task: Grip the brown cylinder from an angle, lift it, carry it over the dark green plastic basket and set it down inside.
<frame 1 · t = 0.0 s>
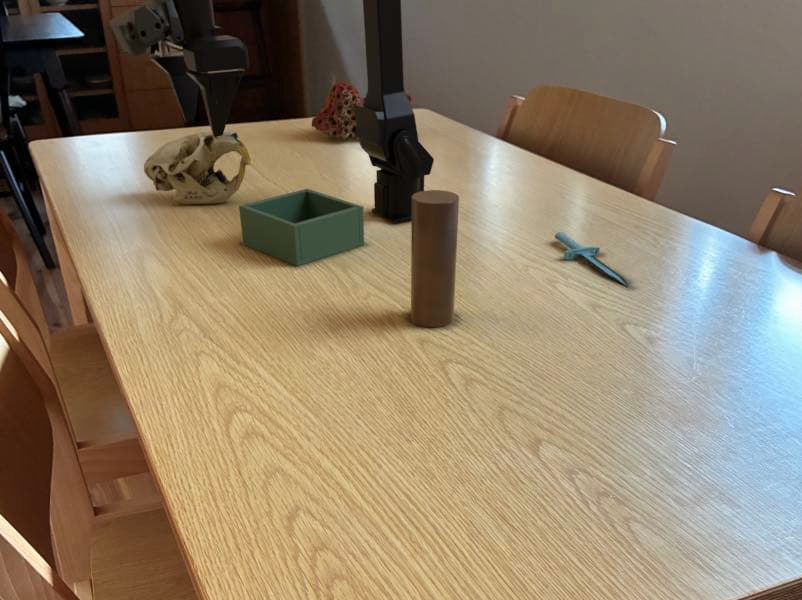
hand: (203, 128, 98), 15 cm above the table, tool pointing down, fingers open, 9 cm apart
brown cylinder: (432, 318, 90), on the table
coral: (361, 138, 158), on the table
skull: (204, 202, 124), on the table
knife: (590, 265, 104), on the table
basket: (303, 244, 109), on the table
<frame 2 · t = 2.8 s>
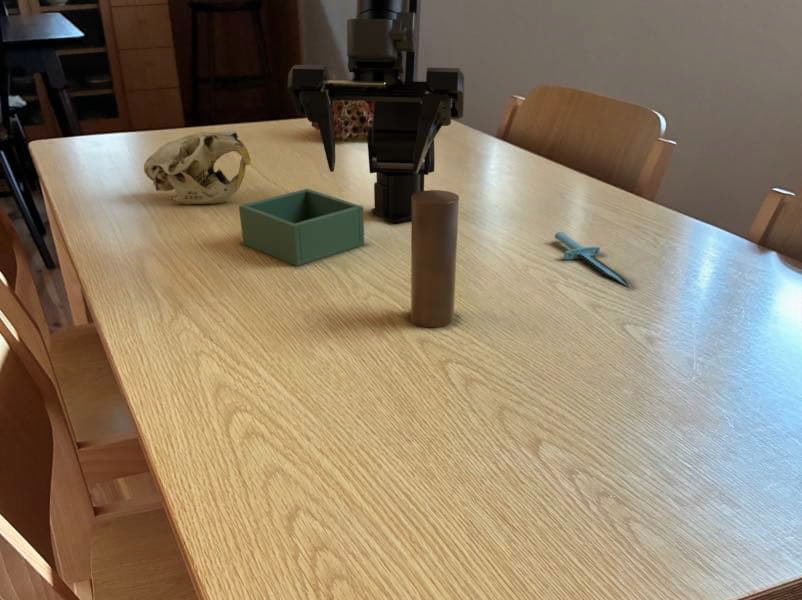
hand: (373, 171, 88), 13 cm above the table, tool tilted 35°, fingers open, 9 cm apart
nothing on the table moved.
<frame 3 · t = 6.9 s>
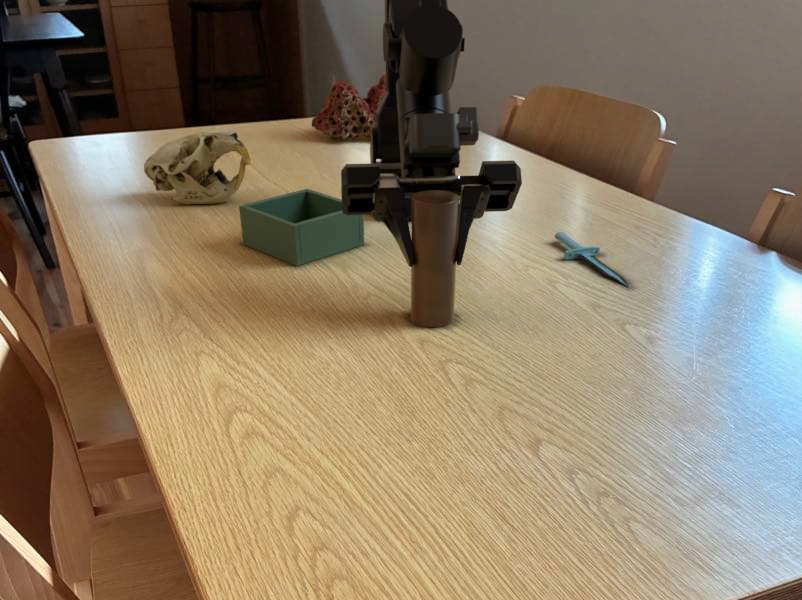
hand: (435, 264, 85), 7 cm above the table, tool tilted 45°, fingers closed on brown cylinder, 5 cm apart
brown cylinder: (432, 318, 90), on the table, touching gripper
everything else where it was.
when the fingers open (7 cm above the table, at t = 14.7 s): brown cylinder stays where it is, resting on basket.
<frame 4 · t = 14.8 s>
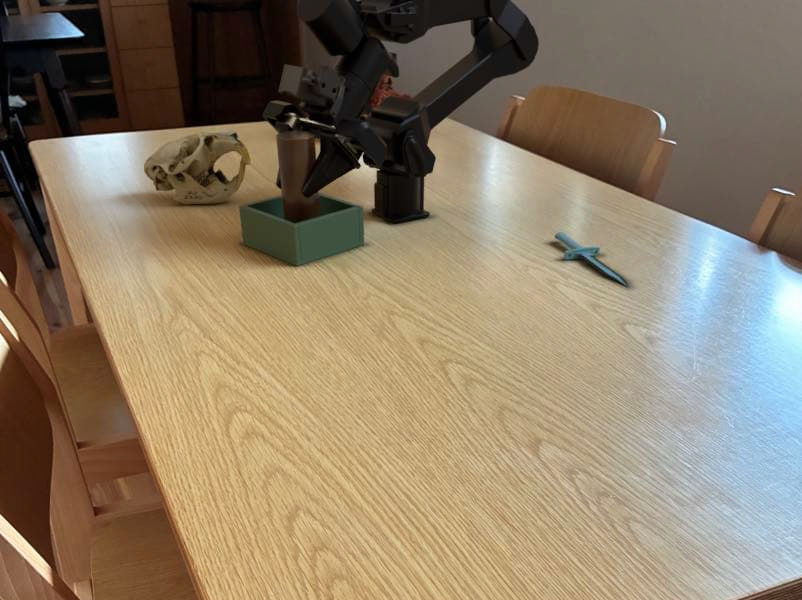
hand: (291, 191, 104), 7 cm above the table, tool tilted 45°, fingers open, 5 cm apart
brown cylinder: (304, 240, 108), point 1 cm above the table, touching basket
everything else where it was.
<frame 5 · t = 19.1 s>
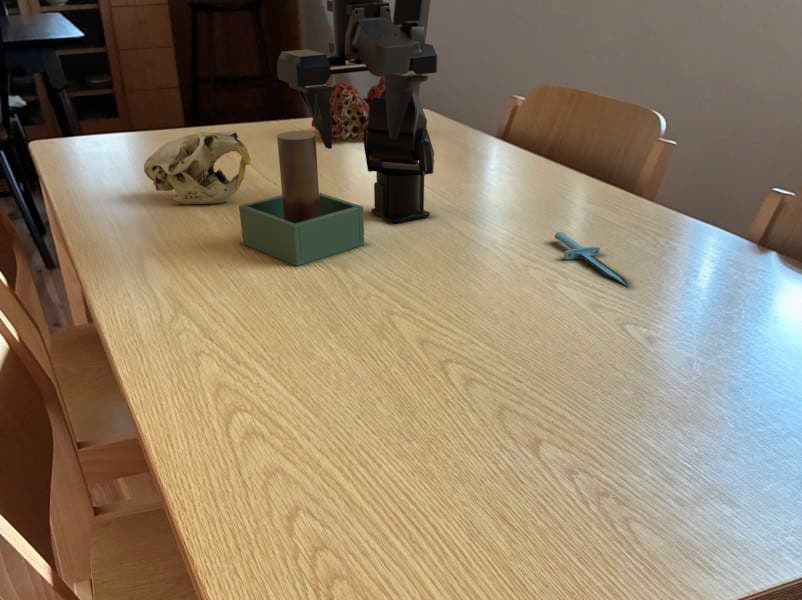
hand: (361, 143, 99), 13 cm above the table, tool pointing down, fingers open, 9 cm apart
nothing on the table moved.
at the end: brown cylinder inside the target area in the basket (0.1 cm from its centre), point 0.5 cm above the basket's base; the gripper is holding nothing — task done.
